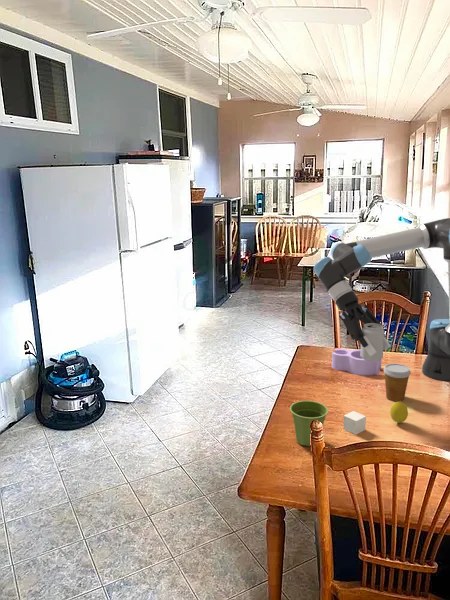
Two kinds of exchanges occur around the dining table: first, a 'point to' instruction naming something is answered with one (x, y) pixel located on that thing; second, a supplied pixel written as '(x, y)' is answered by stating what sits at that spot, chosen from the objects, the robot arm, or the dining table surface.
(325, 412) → the plant pot
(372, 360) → the can
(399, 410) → the lemon
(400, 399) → the disposable coffee cup
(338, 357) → the clip
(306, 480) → the dining table surface
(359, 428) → the cream wooden block
